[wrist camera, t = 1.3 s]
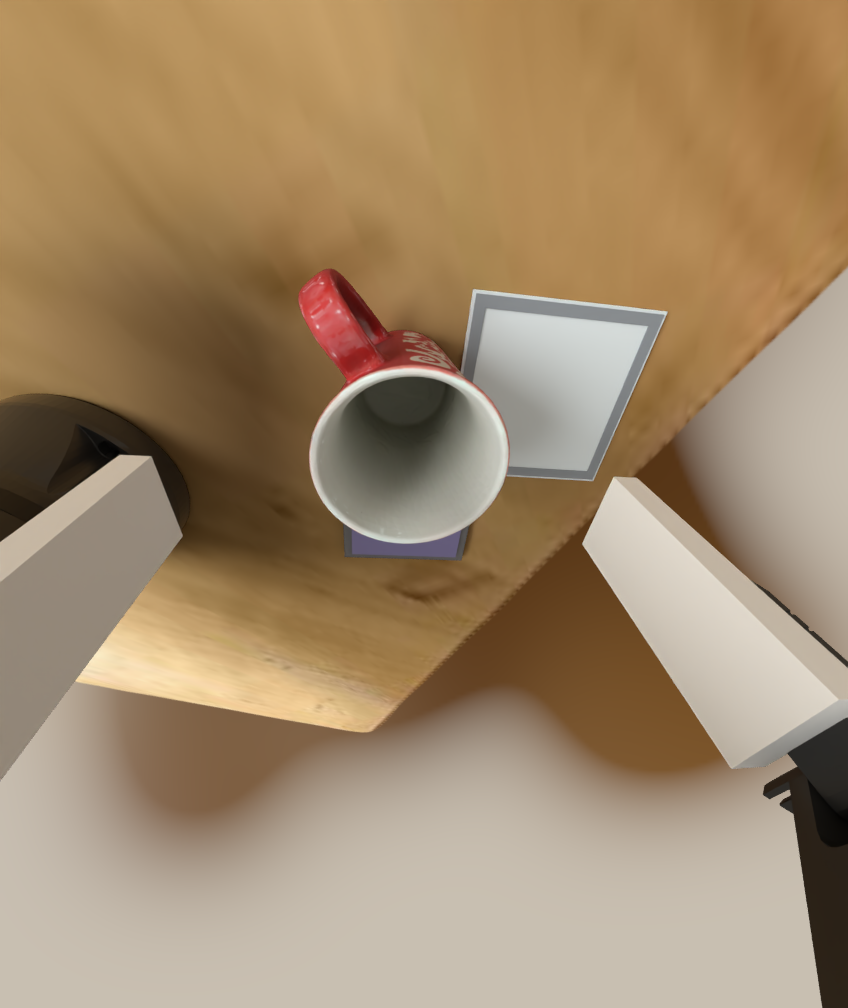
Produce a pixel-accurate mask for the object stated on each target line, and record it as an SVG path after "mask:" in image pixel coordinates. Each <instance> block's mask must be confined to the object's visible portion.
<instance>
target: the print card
mask: <svg viewBox="0 0 848 1008" xmlns="http://www.w3.org/2000/svg"><path fill="white" fill-rule="evenodd" d="M666 315H667V311H659V310H650V309H642V308H633V307H624V306H616V305H607V304H599V303H590V302H581V301H573V300H564V299H556V298H547V297H538V296H530V295H521V294H513V293H504V292H495V291H487V290H478V289H473V292H472V299H471V305H470V312H469V318H468V325H467V331H466V338H465V344H464V351H463V357H462V364H461V370H460V372H461V373H462V374H463V375H464V377H465V378H466V379H467V380H469V381H471V382H472V383H474V384H475V385H476V386H478V387H479V388H480V389H481V390H482V391H483V392H484V393H485V394H486V395H487V396H488V397H489V398H490V399H491V400H492V402H493V403H494V405H495V406H496V408H497V409H498V411H499V412H500V414H501V416H502V419H503V421H504V423H505V426H506V429H507V432H508V438H509V444H510V459H509V466H508V472H507V475H506V476H513V477H530V478H548V479H565V480H582V481H593V480H594V478H595V476H596V473H597V471H598V469H599V467H600V464H601V462H602V460H603V458H604V455H605V453H606V451H607V449H608V446H609V444H610V442H611V439H612V437H613V435H614V433H615V430H616V428H617V426H618V424H619V421H620V419H621V417H622V415H623V412H624V410H625V408H626V405H627V403H628V401H629V399H630V396H631V394H632V392H633V390H634V387H635V385H636V383H637V381H638V378H639V376H640V374H641V371H642V369H643V367H644V365H645V362H646V360H647V358H648V356H649V353H650V351H651V349H652V346H653V344H654V342H655V340H656V337H657V335H658V333H659V331H660V328H661V326H662V324H663V322H664V319H665V317H666Z"/></svg>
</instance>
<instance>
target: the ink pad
mask: <svg viewBox="0 0 848 1008" xmlns="http://www.w3.org/2000/svg"><path fill="white" fill-rule="evenodd" d="M343 526H344V551H345V557H364V558H397V559H430V560H462V555H463V551H464V546H465V542H466V537H467V533H468V528H469V525H468V526H467V527H465V528H463V529H462V530H460V531H458V532H456V533H454V534H451V535H449V536H447V537H444V538H441V539H438V540H434V541H429V542H423V543H413V544H402V543H391V542H384V541H380V540H376V539H373V538H370V537H367V536H365V535H362V534H360V533H358V532H356V531H354V530H353V529H351V528H350V527H348V526H347V525H345V524H344V523H343Z"/></svg>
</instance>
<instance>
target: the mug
mask: <svg viewBox="0 0 848 1008" xmlns="http://www.w3.org/2000/svg"><path fill="white" fill-rule="evenodd" d="M299 306H300V310H301V312H302V315H303V317H304V319H305V321H306V323H307V325H308V327H309V329H310V330H311V332H312V334H313V335H314V337H315V339H316V340H317V342H318V343H319V345H320V346H321V347H322V348H323V349H324V351H325V352H326V354H327V355H328V356H329V357H330V359H331V360H332V361H333V362H334V363H335V365H336V366H337V367H338V368H339V369H340V371H341V372H342V374H343V375H344V376H345V378H346V379H347V381H346V382H345V384H344V386H343V387H342V389H341V391H340V392H339V393H338V394H337V395H336V396H335V397H334V398H333V399H332V400H331V401H330V403H329V404H328V405H327V407H326V408H325V409H324V411H323V412H322V414H321V416H320V418H319V420H318V421H317V423H316V426H315V429H314V431H313V434H312V437H311V442H310V450H309V466H310V472H311V477H312V480H313V484H314V486H315V489H316V491H317V493H318V495H319V497H320V498H321V500H322V502H323V503H324V505H325V506H326V507H327V508H328V510H329V511H330V512H331V513H332V514H333V515H334V516H335V517H336V518H338V519H339V520H340V521H341V522H342V523H344V524H345V525H347V526H348V527H350V528H351V529H353V530H354V531H356V532H358V533H360V534H362V535H365V536H367V537H370V538H373V539H376V540H380V541H384V542H391V543H402V544H413V543H423V542H429V541H434V540H438V539H441V538H444V537H447V536H449V535H451V534H454V533H456V532H458V531H460V530H462V529H463V528H465V527H467V526H468V525H470V524H471V523H473V522H474V521H475V520H476V519H478V518H479V517H480V516H481V515H482V514H483V513H484V512H485V511H486V510H487V509H488V508H489V507H490V505H491V504H492V503H493V502H494V500H495V499H496V497H497V496H498V494H499V492H500V490H501V488H502V486H503V484H504V481H505V478H506V475H507V472H508V466H509V459H510V444H509V438H508V432H507V429H506V426H505V423H504V421H503V419H502V416H501V414H500V412H499V411H498V409H497V408H496V406H495V405H494V403H493V402H492V400H491V399H490V398H489V397H488V396H487V395H486V394H485V393H484V392H483V391H482V390H481V389H480V388H479V387H478V386H476V385H475V384H474V383H472V382H471V381H469V380H467V379H466V378H465V377H464V375H463V374H462V373H461V372H460V371H459V370H458V369H457V368H456V366H455V365H454V364H453V363H452V361H451V360H450V359H449V358H448V357H447V355H446V354H445V353H444V352H443V351H442V349H441V348H440V347H439V346H438V345H437V344H436V343H435V342H433V341H432V340H430V339H429V338H428V337H426V336H424V335H422V334H420V333H417V332H413V331H407V330H397V331H391V332H387V331H386V329H385V328H384V327H383V326H382V325H381V323H380V322H379V320H378V319H377V318H376V316H375V315H374V314H373V312H372V311H371V310H370V308H369V307H368V306H367V304H366V303H365V302H364V300H363V299H362V298H361V297H360V296H359V294H358V293H357V292H356V291H355V289H354V288H353V287H352V286H351V284H350V283H349V282H348V281H347V280H346V279H345V278H344V277H343V276H342V275H341V274H340V273H339V272H337V271H336V270H334V269H325V270H323V271H321V272H319V273H318V274H316V275H315V276H314V277H313V278H312V279H310V280H309V281H308V282H307V283H306V284H305V285H304V286H303V287H302V288H301V290H300V292H299Z"/></svg>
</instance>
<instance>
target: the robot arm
mask: <svg viewBox="0 0 848 1008" xmlns="http://www.w3.org/2000/svg"><path fill="white" fill-rule="evenodd" d="M189 510H190V500H189V494H188V490H187V487H186V484H185V482H184V479H183V477H182V475H181V474H180V472H179V470H178V469H177V467H176V466H175V464H174V463H173V462H172V460H171V459H170V458H169V457H168V455H167V454H166V453H165V452H164V451H163V450H162V449H161V448H160V447H159V446H158V445H157V444H156V443H155V442H154V441H153V440H152V439H150V438H149V437H148V436H147V435H146V434H144V433H143V432H142V431H140V430H139V429H137V428H136V427H135V426H133V425H132V424H130V423H128V422H127V421H125V420H124V419H122V418H120V417H118V416H116V415H114V414H112V413H110V412H108V411H106V410H104V409H102V408H100V407H97V406H94V405H92V404H89V403H86V402H83V401H80V400H76V399H73V398H68V397H64V396H58V395H50V394H25V395H18V396H13V397H10V398H7V399H4V400H1V401H0V781H1V779H2V778H3V777H4V775H5V774H6V773H7V771H8V770H9V769H10V767H11V766H12V765H13V763H14V762H15V761H16V759H17V758H18V757H19V755H20V754H21V753H22V751H23V750H24V749H25V747H26V746H27V745H28V743H29V742H30V741H31V739H32V738H33V737H34V735H35V734H36V733H37V731H38V730H39V728H40V727H41V726H42V724H43V723H44V722H45V720H46V719H47V718H48V716H49V715H50V714H51V712H52V711H53V710H54V708H55V707H56V706H57V704H58V703H59V702H60V700H61V699H62V698H63V696H64V695H65V693H66V692H67V691H68V690H69V688H70V687H71V686H72V684H73V683H74V682H75V680H76V679H77V678H78V676H79V675H80V673H81V672H82V671H83V669H84V668H85V667H86V665H87V664H88V663H89V661H90V660H91V659H92V657H93V656H94V655H95V653H96V652H97V651H98V649H99V648H100V647H101V645H102V644H103V643H104V641H105V640H106V639H107V637H108V636H109V635H110V633H111V632H112V631H113V629H114V628H115V627H116V625H117V624H118V622H119V621H120V620H121V618H122V617H123V616H124V614H125V613H126V612H127V610H128V609H129V608H130V606H131V605H132V604H133V602H134V601H135V600H136V598H137V597H138V596H139V594H140V593H141V592H142V590H143V589H144V588H145V586H146V585H147V584H148V582H149V581H150V580H151V578H152V577H153V576H154V574H155V573H156V571H157V570H158V569H159V567H160V566H161V565H162V563H163V562H164V561H165V559H166V558H167V557H168V555H169V554H170V553H171V551H172V550H173V549H174V547H175V546H176V545H177V543H178V542H179V541H180V539H181V538H182V537H183V535H182V532H181V529H182V528H183V527H184V525H185V523H186V521H187V519H188V516H189ZM582 544H583V546H584V548H585V549H586V551H587V552H588V553H589V555H590V557H591V558H592V559H593V561H594V563H595V564H596V566H597V567H598V569H599V570H600V571H601V573H602V575H603V576H604V578H605V579H606V580H607V582H608V584H609V585H610V587H611V588H612V590H613V591H614V593H615V594H616V596H617V597H618V599H619V600H620V602H621V603H622V605H623V606H624V608H625V609H626V611H627V612H628V613H629V615H630V617H631V618H632V620H633V621H634V623H635V624H636V626H637V627H638V629H639V630H640V632H641V633H642V635H643V636H644V638H645V639H646V641H647V642H648V644H649V645H650V647H651V648H652V650H653V651H654V653H655V654H656V656H657V657H658V659H659V660H660V662H661V663H662V665H663V666H664V668H665V670H666V671H667V673H668V674H669V675H670V677H671V678H672V680H673V682H674V683H675V685H676V686H677V688H678V689H679V690H680V692H681V694H682V695H683V697H684V698H685V700H686V701H687V702H688V704H689V706H690V707H691V709H692V710H693V712H694V713H695V715H696V716H697V718H698V719H699V721H700V722H701V724H702V725H703V727H704V728H705V730H706V731H707V733H708V734H709V736H710V737H711V739H712V740H713V741H714V743H715V745H716V746H717V748H718V749H719V751H720V752H721V754H722V755H723V757H724V758H725V760H726V761H727V763H728V764H729V766H730V767H731V769H736V768H752V767H766V766H767V765H769V764H771V763H772V762H774V761H776V760H777V759H779V758H781V757H783V756H784V755H786V754H788V755H789V756H790V757H791V758H792V760H793V761H794V762H795V764H796V765H797V766H798V767H796V768H794V769H792V770H790V771H788V772H787V773H785V774H783V775H781V776H779V777H778V778H776V779H774V780H772V781H771V782H769V783H767V784H766V785H765V786H764V791H763V795H764V796H766V797H767V798H769V799H771V798H773V797H775V796H777V795H779V794H781V793H783V792H785V791H787V790H790V793H791V796H789V797H787V798H785V799H783V800H782V801H781V803H780V806H782V807H783V808H785V809H786V810H788V811H790V812H791V813H793V814H794V820H795V827H796V833H797V840H798V846H799V853H800V860H801V867H802V873H803V880H804V887H805V894H806V901H807V907H808V914H809V920H810V928H811V933H812V941H813V947H814V954H815V961H816V968H817V974H818V981H819V988H820V995H821V1001H822V1008H848V661H846V660H845V659H844V658H843V657H842V656H841V655H840V654H839V653H838V652H836V651H835V650H834V649H833V648H832V647H831V646H830V645H828V644H827V643H826V642H825V641H824V640H823V639H822V638H821V637H819V636H818V635H817V634H816V633H815V632H814V631H809V629H808V628H809V627H808V626H807V625H806V624H805V623H803V621H801V620H800V619H799V618H798V617H797V616H796V615H792V614H791V613H790V610H789V609H788V608H787V607H786V606H785V605H783V604H782V603H781V602H780V601H779V600H778V599H777V598H776V597H774V596H773V595H772V594H771V593H770V592H769V591H767V590H766V589H764V588H763V587H761V586H759V585H758V584H756V583H754V582H753V581H751V580H750V579H748V578H747V577H746V576H745V575H744V574H743V573H742V572H741V571H740V570H738V569H737V568H736V567H735V566H734V565H733V564H732V563H731V562H730V561H728V560H727V559H726V558H725V557H724V556H723V555H722V554H720V553H719V552H718V551H717V550H716V549H715V548H714V547H713V546H712V545H710V544H709V543H708V542H707V541H706V540H705V539H704V538H703V537H702V536H701V535H700V534H698V533H697V532H696V531H695V530H694V529H693V528H692V527H691V526H690V525H688V524H687V523H686V522H685V521H684V520H683V519H682V518H680V516H678V515H677V514H676V513H675V512H674V511H673V510H672V509H671V508H670V507H669V506H667V505H666V504H665V503H664V502H663V501H662V500H661V499H660V498H659V497H657V496H656V495H655V494H654V493H653V492H652V491H651V490H650V489H649V488H647V487H646V486H645V485H644V484H643V483H642V482H641V481H640V480H639V479H637V478H631V477H613V479H612V481H611V484H610V486H609V488H608V490H607V492H606V494H605V496H604V498H603V501H602V503H601V505H600V507H599V509H598V511H597V513H596V516H595V518H594V520H593V522H592V524H591V526H590V528H589V530H588V533H587V535H586V537H585V539H584V541H583V543H582Z"/></svg>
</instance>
